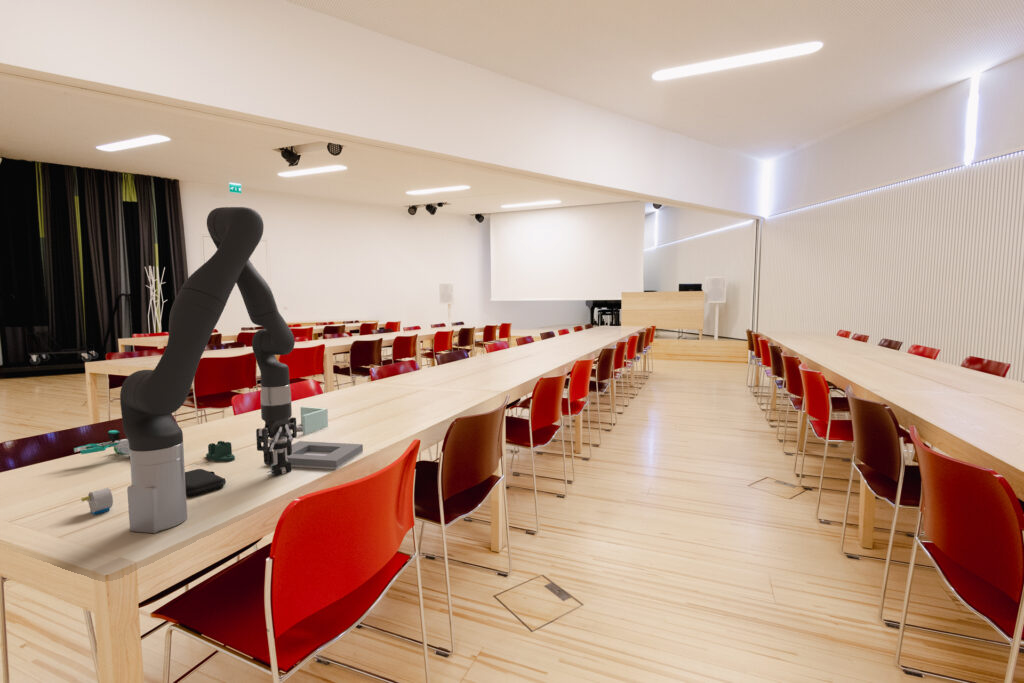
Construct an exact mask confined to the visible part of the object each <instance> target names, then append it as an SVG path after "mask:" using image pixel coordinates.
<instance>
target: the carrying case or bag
mask: <svg viewBox="0 0 1024 683" xmlns="http://www.w3.org/2000/svg"><path fill="white" fill-rule="evenodd" d="M226 483H227V481H226V478H225V477H222V476H219V475H218V474H215V471H208V470H206V469H202V468H195V469H192V470H189V471H188V470H187V471H185V484H186V498H192V497H193V498H194V497H196V496H200V495H203V494H207V493H211V492H215V491H216V490H217V491H218V490H220V489H222V488H223V487H224V486H225V485H226Z"/></svg>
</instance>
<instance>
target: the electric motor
mask: <svg viewBox="0 0 1024 683" xmlns="http://www.w3.org/2000/svg"><path fill="white" fill-rule="evenodd" d="M80 499H81V502H84V501H85V502H87V503H88V505H89V506H88V507H89V509H90V510H89V511H90V514H91V515H93V516H96V515H99V514H102V513H106V512H109V511H110V509H111V508H112V507H113V504H114V500H113V493H112V491H111V489H110V488H109V487H106V488H101V489H97V490H93V491H89V493H88V495H87V496H85V497H81V498H80Z"/></svg>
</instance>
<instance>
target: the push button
mask: <svg viewBox="0 0 1024 683" xmlns="http://www.w3.org/2000/svg"><path fill="white" fill-rule="evenodd" d="M268 446H270V443H268ZM289 446H290V440H289V439H287V437H285V436H283V437H280V438H279V439H278V440H277V443H275V444H274V447H273V450H272V451H273V456H274V463H273V465H270V470H268V471H266V473H268V474H266V476H267V477H270V476H274V477H277V476H279V475H284V474H286V473H291V472H292V466H291V463H290V462H287V461H288V459H287V447H289ZM269 473H270V474H269Z"/></svg>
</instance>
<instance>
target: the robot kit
mask: <svg viewBox="0 0 1024 683" xmlns="http://www.w3.org/2000/svg"><path fill="white" fill-rule="evenodd" d="M107 434H108V440H111V441H106V442H105V441H104V442H101V443H99V442H98V443H91V442H90V443H88V444H85V445H80V446H77V447H73V452H74V453H77V452H80V455H87V454H91V453H92V454H93V453H98V452H104V451H106V449H108V448H113V451H114V452H115V453H116V454H126V455H130V449H129V441H128V439H127V438H123V439H120V431H119V430H116V429H113V430H109V431H107Z"/></svg>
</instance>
